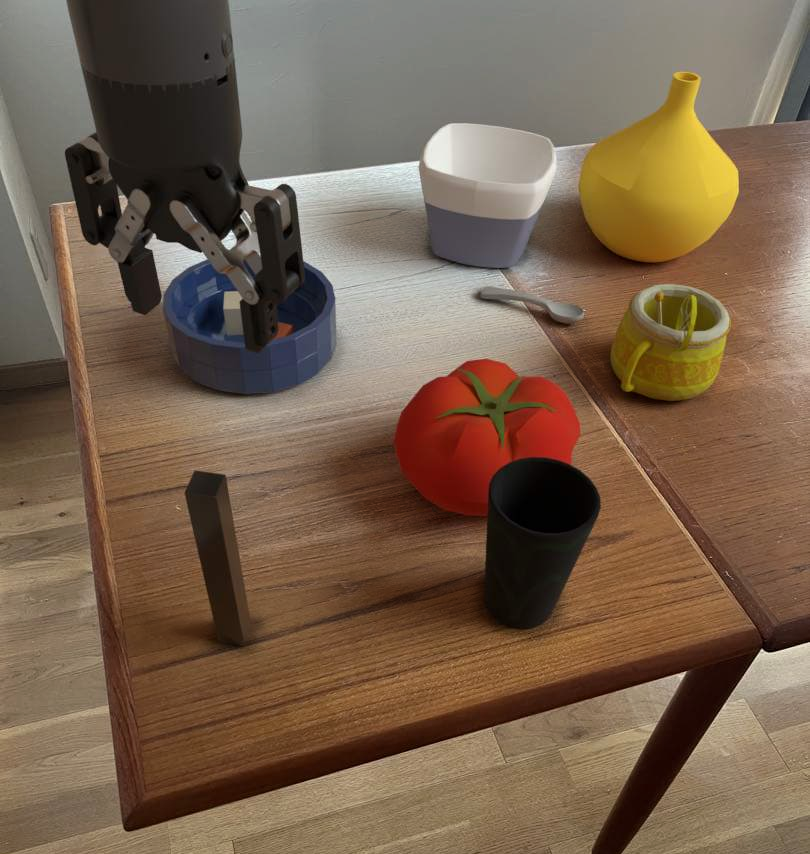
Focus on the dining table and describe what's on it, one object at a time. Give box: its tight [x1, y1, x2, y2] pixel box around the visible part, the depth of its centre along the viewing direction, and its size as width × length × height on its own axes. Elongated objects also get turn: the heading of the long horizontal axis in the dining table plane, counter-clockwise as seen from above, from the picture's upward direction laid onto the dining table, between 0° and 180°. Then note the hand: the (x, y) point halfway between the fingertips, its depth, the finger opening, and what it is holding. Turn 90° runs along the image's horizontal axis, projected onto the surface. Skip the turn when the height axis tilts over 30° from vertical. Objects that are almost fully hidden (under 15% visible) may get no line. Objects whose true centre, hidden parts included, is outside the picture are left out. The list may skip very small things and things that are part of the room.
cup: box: [483, 457, 602, 630], centre depth 60 cm, size 8×8×12 cm
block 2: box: [274, 322, 293, 339], centre depth 82 cm, size 3×3×3 cm
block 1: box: [223, 291, 244, 335], centre depth 85 cm, size 3×3×3 cm
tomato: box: [392, 358, 581, 516], centre depth 70 cm, size 14×16×10 cm
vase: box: [577, 71, 740, 263], centre depth 96 cm, size 18×18×19 cm
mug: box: [609, 283, 732, 402], centre depth 80 cm, size 13×11×12 cm
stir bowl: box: [162, 258, 337, 395], centre depth 83 cm, size 17×17×6 cm
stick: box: [183, 470, 252, 647], centre depth 56 cm, size 2×2×16 cm
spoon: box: [480, 286, 585, 325], centre depth 91 cm, size 3×12×2 cm, turn 64°
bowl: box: [418, 122, 558, 269], centre depth 97 cm, size 15×15×11 cm
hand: (203, 326), depth 53 cm, fingers open, 8 cm apart
